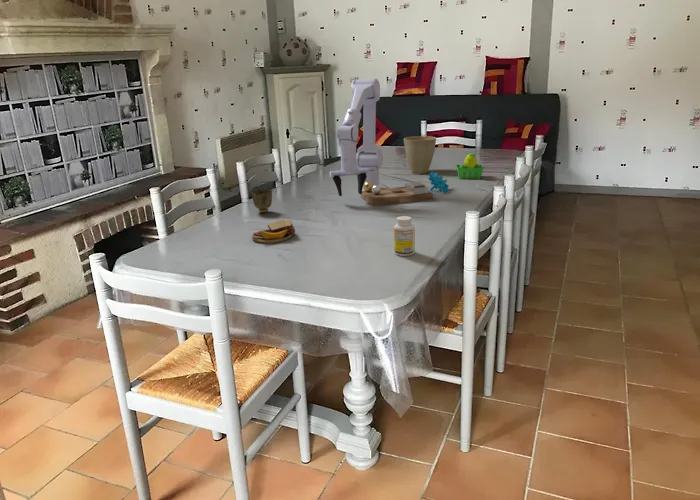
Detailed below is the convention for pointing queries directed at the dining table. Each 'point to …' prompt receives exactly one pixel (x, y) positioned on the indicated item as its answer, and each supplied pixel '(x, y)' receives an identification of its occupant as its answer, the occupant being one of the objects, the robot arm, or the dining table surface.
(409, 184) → the cover
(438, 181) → the blue irregular figure
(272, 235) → the toy sandwich meal
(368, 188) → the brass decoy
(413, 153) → the plant pot
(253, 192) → the cup
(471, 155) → the fruit basket
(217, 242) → the dining table surface
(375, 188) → the steel ball
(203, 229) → the dining table surface
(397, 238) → the supplement bottle
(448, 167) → the dining table surface
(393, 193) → the wooden cutting board
